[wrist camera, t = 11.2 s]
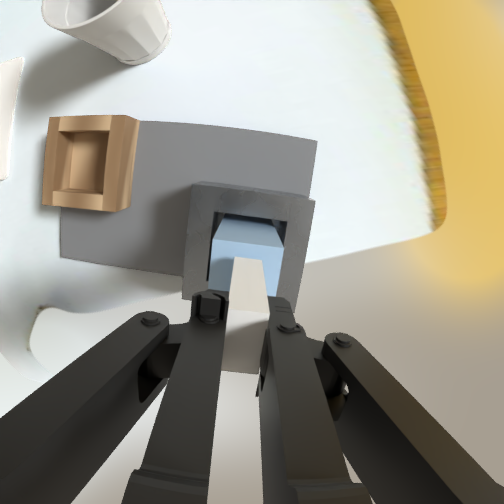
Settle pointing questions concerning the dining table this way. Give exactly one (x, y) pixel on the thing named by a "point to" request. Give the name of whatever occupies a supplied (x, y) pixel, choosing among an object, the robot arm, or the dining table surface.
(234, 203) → the port
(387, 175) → the dining table surface
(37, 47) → the dining table surface
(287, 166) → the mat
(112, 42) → the cup
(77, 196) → the tan square frame
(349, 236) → the dining table surface
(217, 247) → the plug
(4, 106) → the smartphone
